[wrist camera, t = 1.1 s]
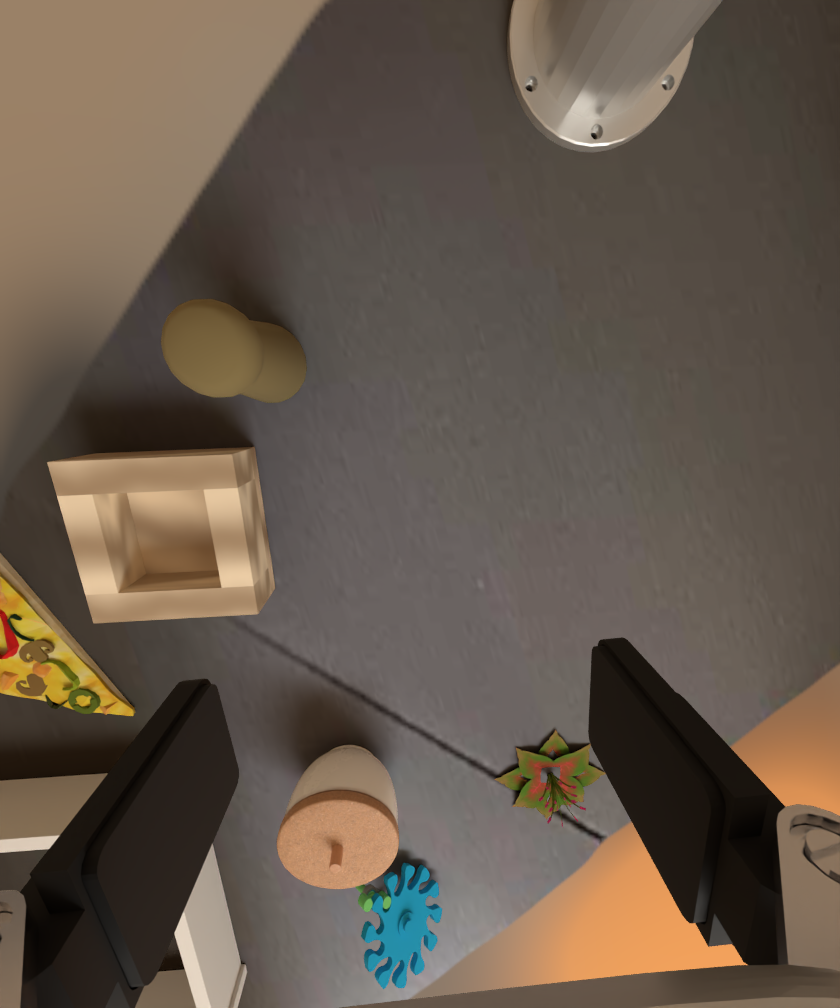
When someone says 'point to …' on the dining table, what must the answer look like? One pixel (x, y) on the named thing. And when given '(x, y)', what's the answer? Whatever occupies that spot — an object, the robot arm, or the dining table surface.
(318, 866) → the lidded jar
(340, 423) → the dining table surface
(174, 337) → the cork
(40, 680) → the pizza slice
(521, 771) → the lily flower
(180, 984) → the white rectangular frame
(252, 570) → the caddy
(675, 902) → the robot arm
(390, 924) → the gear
